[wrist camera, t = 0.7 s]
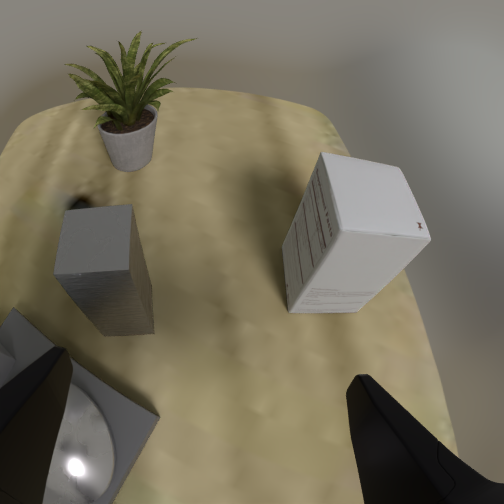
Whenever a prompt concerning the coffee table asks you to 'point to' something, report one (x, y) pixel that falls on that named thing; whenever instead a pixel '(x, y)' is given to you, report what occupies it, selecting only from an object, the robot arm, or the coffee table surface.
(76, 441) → the scale pan
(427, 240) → the supplement box
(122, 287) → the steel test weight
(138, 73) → the house plant
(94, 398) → the scale base
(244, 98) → the coffee table surface
